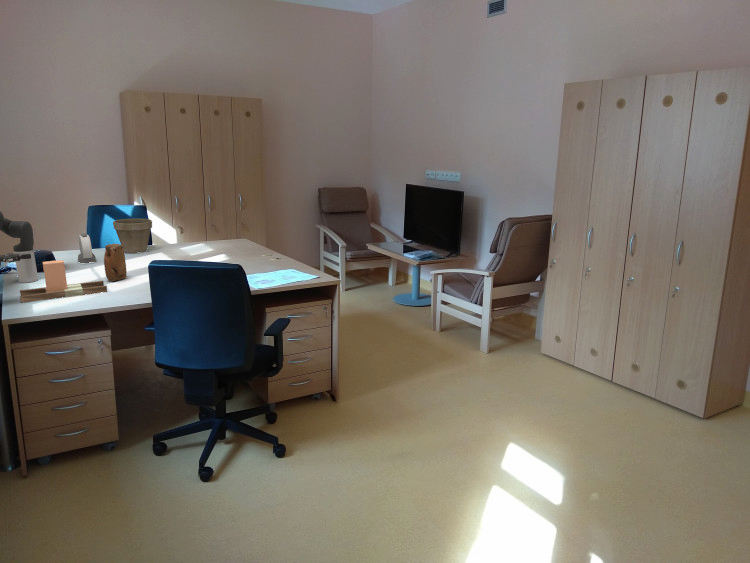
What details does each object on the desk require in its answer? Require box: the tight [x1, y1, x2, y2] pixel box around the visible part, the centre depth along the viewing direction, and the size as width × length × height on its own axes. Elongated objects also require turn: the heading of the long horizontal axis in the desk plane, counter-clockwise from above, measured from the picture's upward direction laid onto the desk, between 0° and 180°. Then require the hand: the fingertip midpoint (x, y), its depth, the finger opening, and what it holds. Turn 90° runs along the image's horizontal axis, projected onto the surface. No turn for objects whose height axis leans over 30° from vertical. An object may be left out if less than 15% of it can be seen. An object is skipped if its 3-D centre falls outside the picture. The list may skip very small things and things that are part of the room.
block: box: [103, 243, 127, 282], centre depth 309 cm, size 11×8×20 cm
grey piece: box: [77, 233, 97, 263], centre depth 353 cm, size 16×10×18 cm, turn 34°
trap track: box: [19, 280, 108, 304], centre depth 283 cm, size 14×38×3 cm, turn 122°
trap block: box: [42, 259, 68, 292], centre depth 279 cm, size 6×9×14 cm, turn 122°
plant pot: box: [112, 218, 153, 254], centre depth 386 cm, size 25×25×22 cm
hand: (30, 256), depth 272 cm, fingers closed
